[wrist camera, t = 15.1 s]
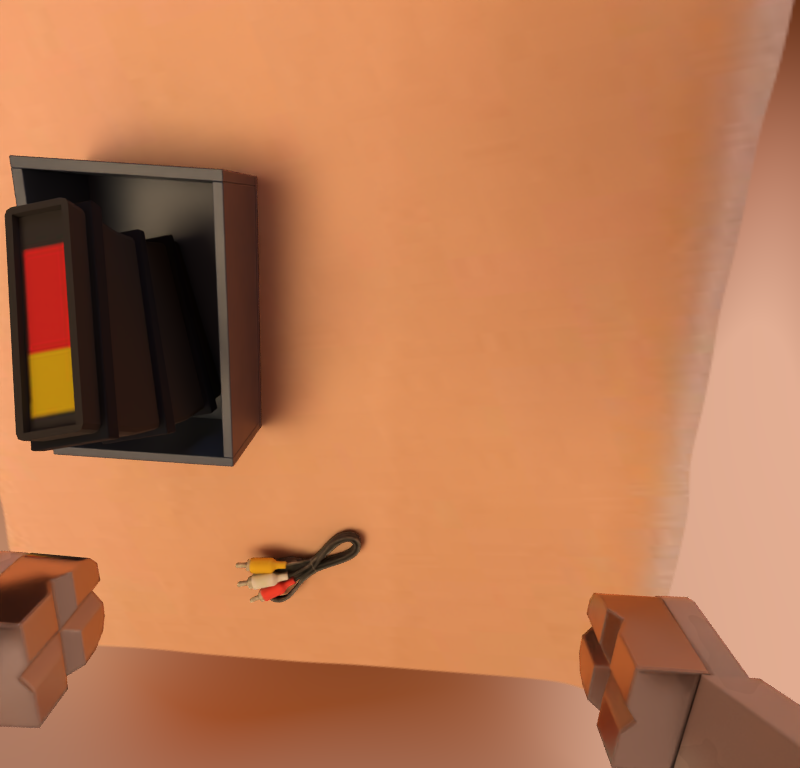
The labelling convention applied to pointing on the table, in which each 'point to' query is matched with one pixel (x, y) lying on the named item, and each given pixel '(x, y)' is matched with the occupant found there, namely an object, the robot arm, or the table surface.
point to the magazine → (100, 330)
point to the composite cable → (294, 568)
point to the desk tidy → (208, 273)
